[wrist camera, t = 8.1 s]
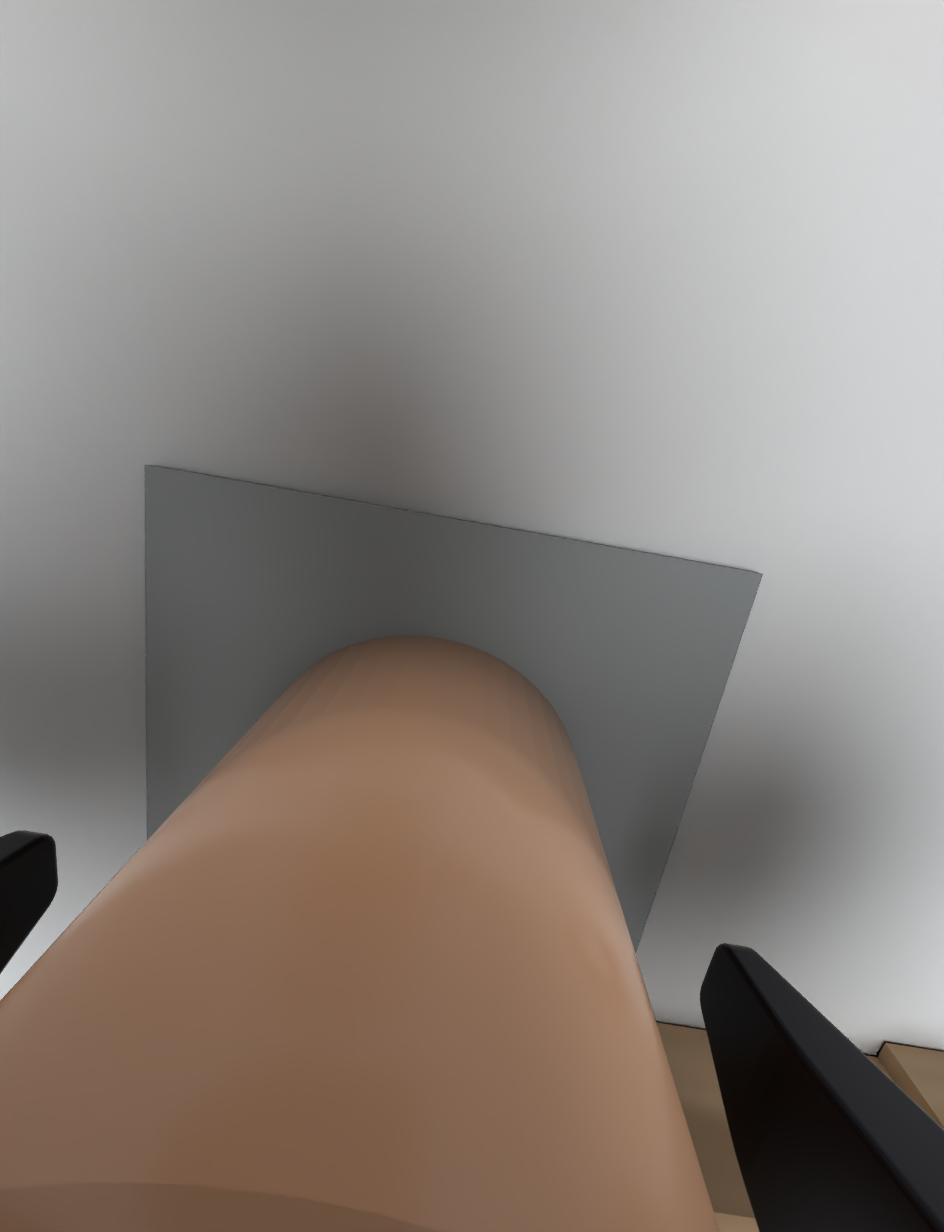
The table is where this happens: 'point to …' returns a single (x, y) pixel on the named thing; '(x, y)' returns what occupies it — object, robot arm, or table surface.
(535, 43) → the table surface
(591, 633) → the slate mat
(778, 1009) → the robot arm
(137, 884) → the terracotta pot
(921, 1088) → the brown wooden tray
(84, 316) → the table surface
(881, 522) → the table surface
